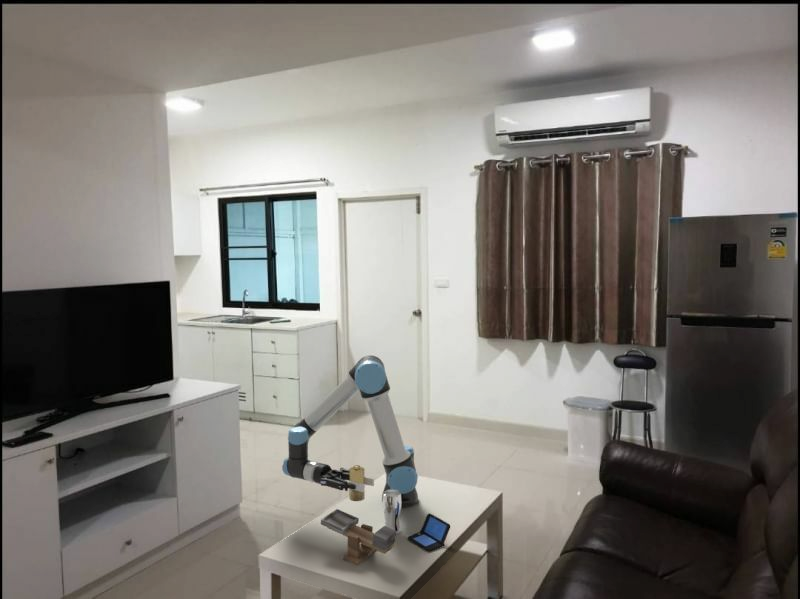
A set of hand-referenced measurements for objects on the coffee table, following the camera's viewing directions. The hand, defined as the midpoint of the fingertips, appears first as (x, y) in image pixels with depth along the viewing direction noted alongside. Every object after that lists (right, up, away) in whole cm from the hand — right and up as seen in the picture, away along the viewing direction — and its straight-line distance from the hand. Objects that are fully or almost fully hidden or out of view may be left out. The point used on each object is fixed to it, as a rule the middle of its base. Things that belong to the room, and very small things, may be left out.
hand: (368, 485), depth 219 cm
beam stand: (-2, -21, -10) cm, 23 cm away
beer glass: (+9, -20, +7) cm, 22 cm away
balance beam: (-3, -15, -10) cm, 18 cm away
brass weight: (-4, -6, +3) cm, 8 cm away
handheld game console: (+22, -21, -1) cm, 30 cm away
